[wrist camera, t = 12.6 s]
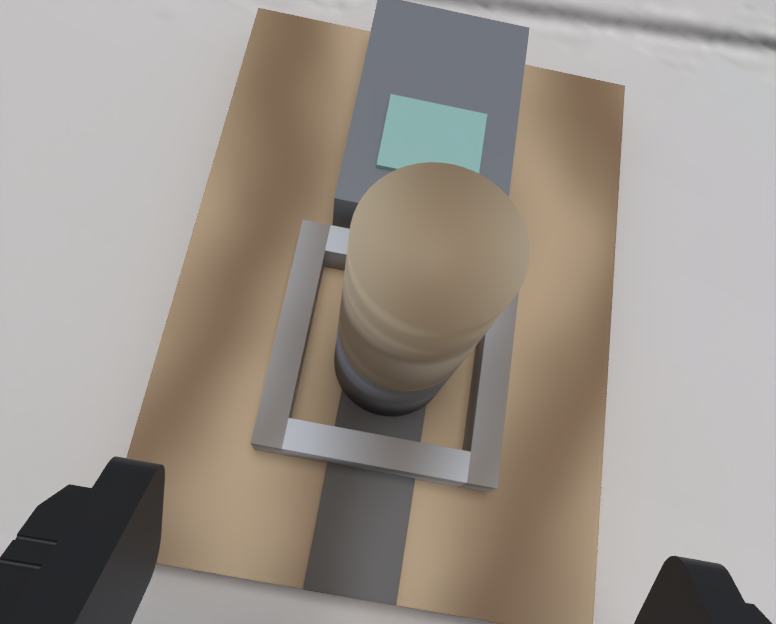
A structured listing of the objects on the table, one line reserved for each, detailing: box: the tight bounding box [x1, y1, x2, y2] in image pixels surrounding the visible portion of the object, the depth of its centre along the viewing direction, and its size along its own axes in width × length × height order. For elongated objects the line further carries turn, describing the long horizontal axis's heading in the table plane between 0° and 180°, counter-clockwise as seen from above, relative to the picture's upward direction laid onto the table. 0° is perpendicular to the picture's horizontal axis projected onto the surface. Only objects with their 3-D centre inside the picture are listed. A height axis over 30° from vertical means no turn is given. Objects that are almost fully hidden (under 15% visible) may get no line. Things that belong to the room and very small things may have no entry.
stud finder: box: [332, 0, 529, 229], centre depth 26 cm, size 6×9×3 cm, turn 171°
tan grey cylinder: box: [334, 162, 530, 417], centre depth 20 cm, size 4×4×10 cm
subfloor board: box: [127, 8, 625, 624], centre depth 26 cm, size 16×22×3 cm
